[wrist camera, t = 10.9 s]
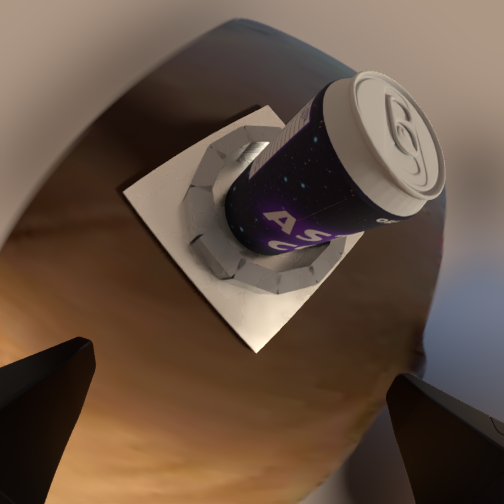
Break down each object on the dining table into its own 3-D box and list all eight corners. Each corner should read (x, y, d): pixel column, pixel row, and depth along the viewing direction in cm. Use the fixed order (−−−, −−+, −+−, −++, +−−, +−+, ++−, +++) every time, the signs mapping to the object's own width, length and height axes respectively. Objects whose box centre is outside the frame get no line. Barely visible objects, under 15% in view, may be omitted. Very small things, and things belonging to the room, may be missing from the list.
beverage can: (213, 247, 17) (345, 169, 6) (229, 165, 18) (337, 37, 7) (294, 264, 19) (457, 231, 8) (302, 188, 20) (436, 110, 9)
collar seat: (253, 351, 18) (273, 361, 15) (123, 195, 16) (120, 176, 13) (359, 233, 22) (385, 226, 20) (264, 109, 21) (282, 87, 18)
